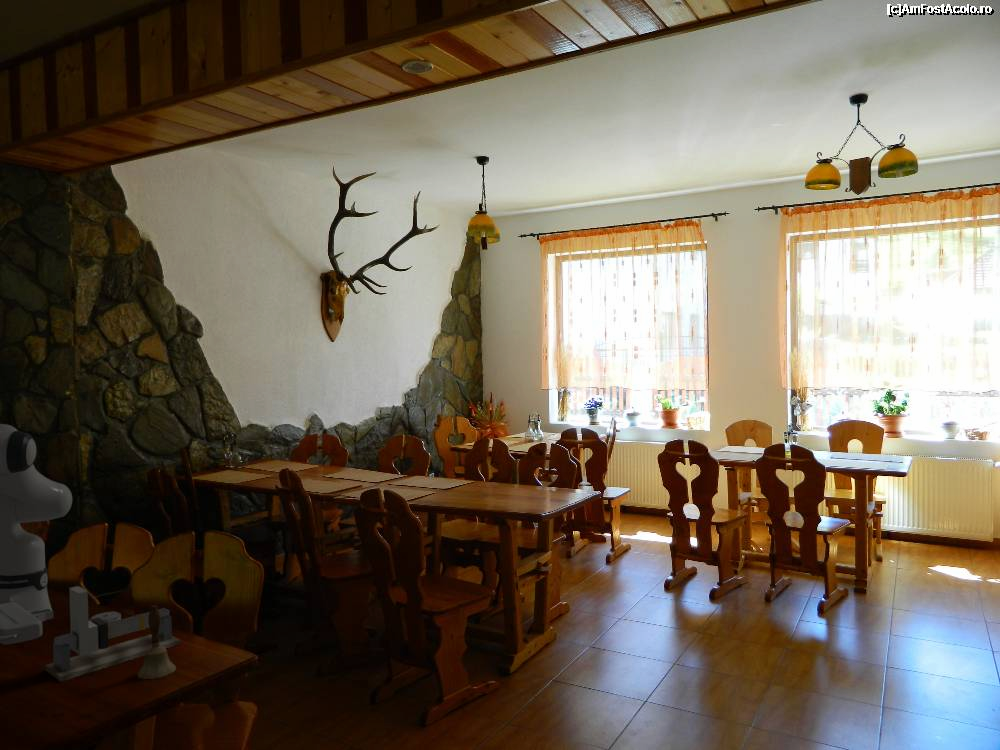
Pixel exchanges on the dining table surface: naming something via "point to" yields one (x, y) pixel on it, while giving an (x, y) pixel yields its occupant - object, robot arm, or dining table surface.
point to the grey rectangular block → (82, 622)
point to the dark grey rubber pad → (102, 632)
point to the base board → (108, 657)
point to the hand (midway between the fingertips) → (51, 613)
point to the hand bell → (155, 652)
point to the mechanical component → (108, 616)
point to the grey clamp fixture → (110, 635)
